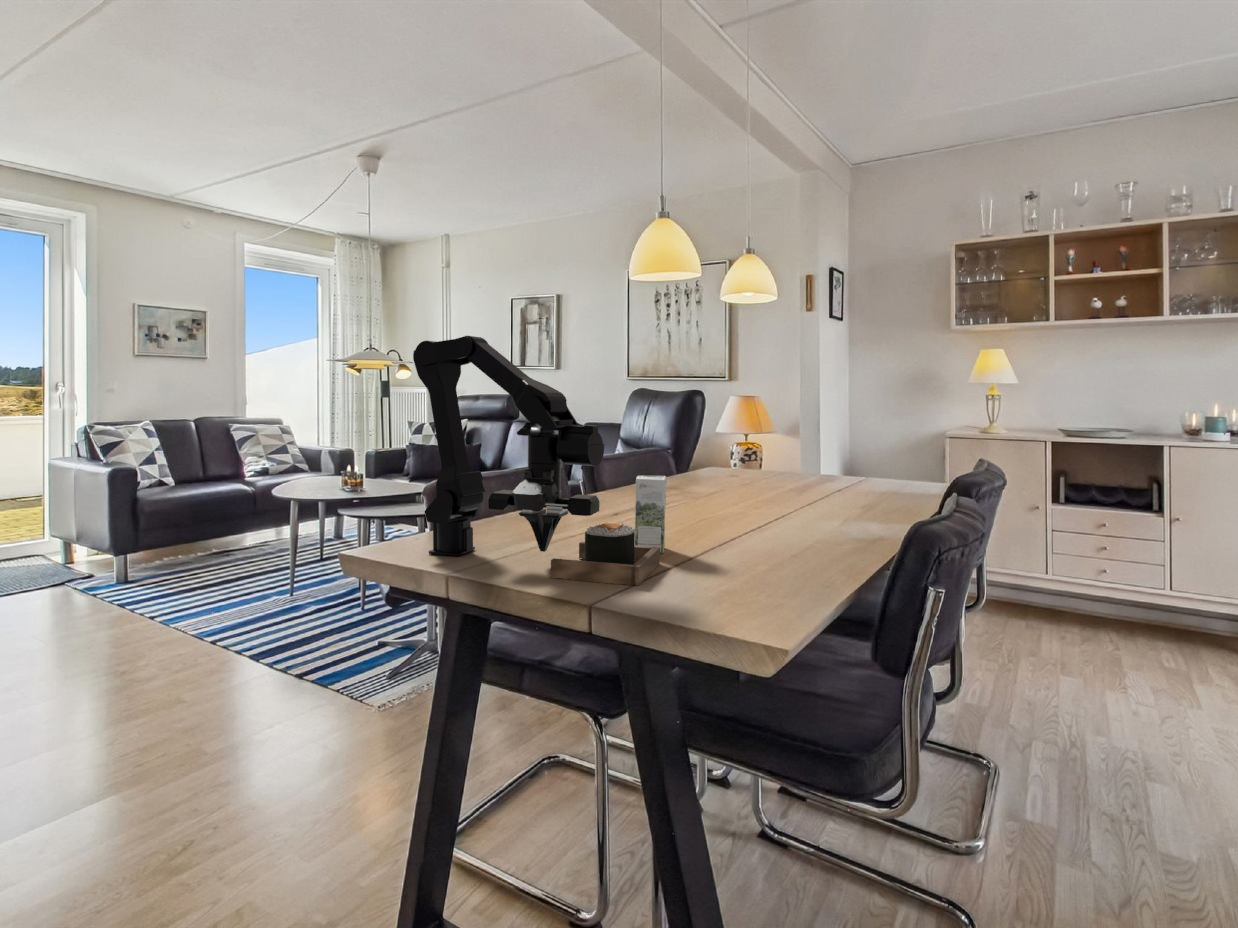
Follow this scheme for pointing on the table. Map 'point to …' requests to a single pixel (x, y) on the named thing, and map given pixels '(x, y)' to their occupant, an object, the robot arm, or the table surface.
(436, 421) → the robot arm
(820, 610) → the table surface
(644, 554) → the tray
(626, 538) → the sushi
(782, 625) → the table surface
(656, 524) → the syrup box
